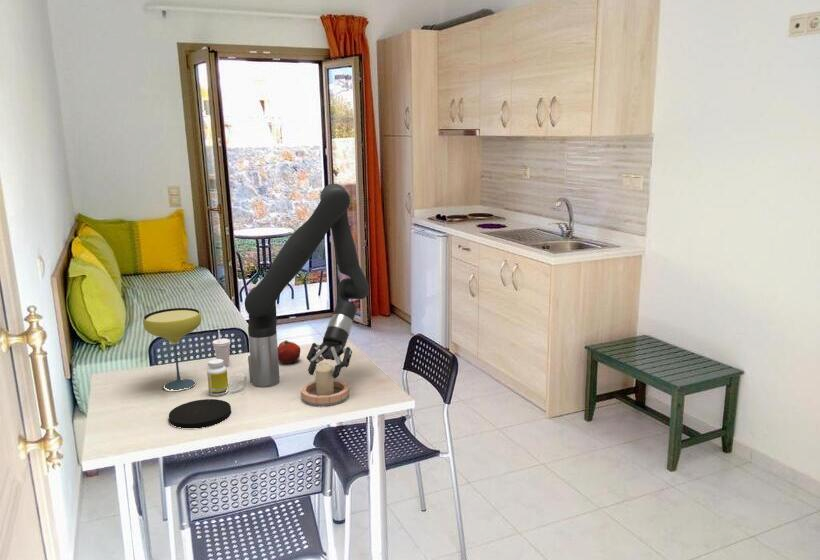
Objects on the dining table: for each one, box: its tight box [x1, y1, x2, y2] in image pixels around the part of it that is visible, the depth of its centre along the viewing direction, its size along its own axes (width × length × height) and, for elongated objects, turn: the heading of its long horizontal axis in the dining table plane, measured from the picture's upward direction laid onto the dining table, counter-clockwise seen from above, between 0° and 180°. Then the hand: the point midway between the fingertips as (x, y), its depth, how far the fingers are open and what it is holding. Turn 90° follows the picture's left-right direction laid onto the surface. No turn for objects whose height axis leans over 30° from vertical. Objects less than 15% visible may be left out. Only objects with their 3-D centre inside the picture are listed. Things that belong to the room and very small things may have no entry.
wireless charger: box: [168, 398, 232, 429], centre depth 193 cm, size 18×18×2 cm
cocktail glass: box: [142, 307, 202, 390], centre depth 215 cm, size 18×18×25 cm
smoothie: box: [212, 329, 232, 368], centre depth 234 cm, size 6×6×14 cm
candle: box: [314, 362, 334, 396], centre depth 204 cm, size 6×6×10 cm
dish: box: [300, 378, 350, 408], centre depth 205 cm, size 15×15×3 cm
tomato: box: [277, 340, 301, 364], centre depth 238 cm, size 9×9×8 cm
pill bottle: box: [206, 358, 229, 397], centre depth 209 cm, size 6×6×11 cm
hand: (322, 375), depth 202 cm, fingers open, 8 cm apart
